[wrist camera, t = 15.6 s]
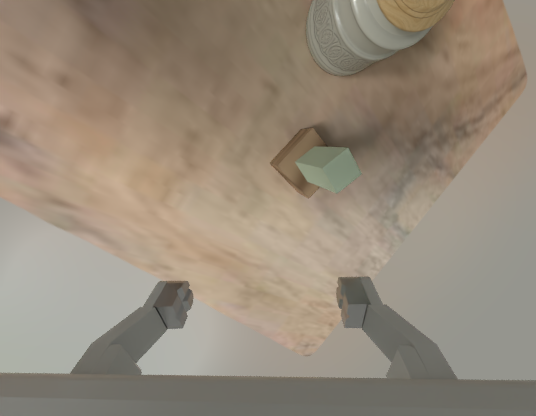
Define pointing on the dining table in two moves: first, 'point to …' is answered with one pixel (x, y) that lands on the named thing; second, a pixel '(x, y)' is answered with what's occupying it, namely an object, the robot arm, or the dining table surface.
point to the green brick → (329, 167)
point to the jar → (367, 30)
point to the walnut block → (292, 153)
